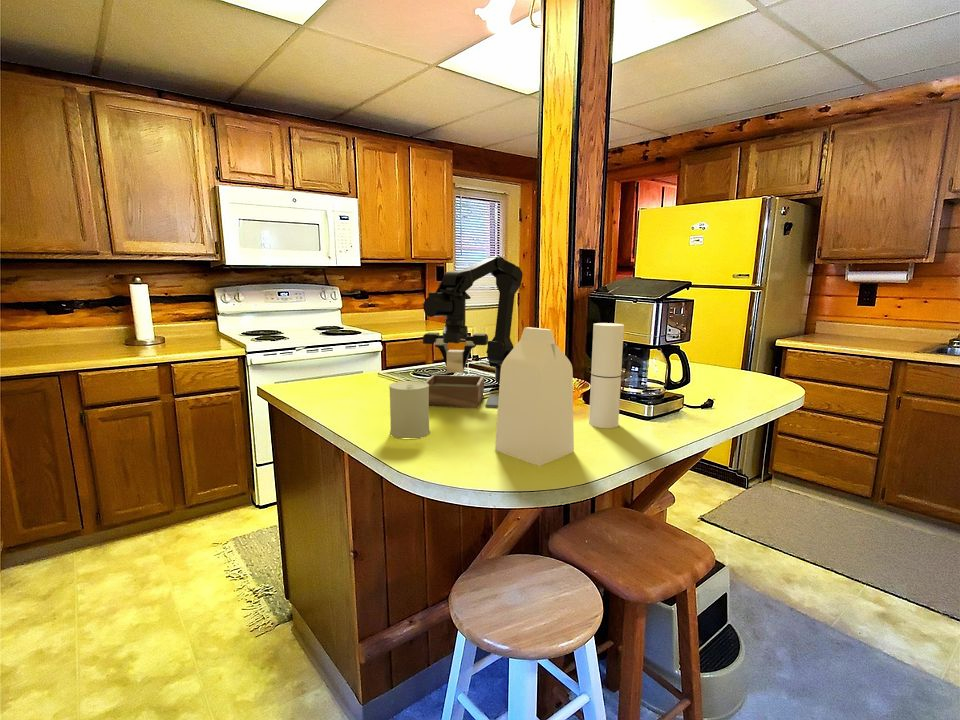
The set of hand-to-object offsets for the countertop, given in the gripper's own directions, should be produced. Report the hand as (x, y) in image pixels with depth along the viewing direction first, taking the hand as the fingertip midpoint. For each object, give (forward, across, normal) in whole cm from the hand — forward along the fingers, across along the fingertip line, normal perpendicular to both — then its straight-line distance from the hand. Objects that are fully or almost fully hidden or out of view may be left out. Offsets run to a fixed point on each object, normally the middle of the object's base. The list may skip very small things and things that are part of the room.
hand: (455, 367), depth 148 cm
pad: (+9, +14, -3) cm, 17 cm away
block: (+1, 0, 0) cm, 1 cm away
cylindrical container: (+10, +41, -21) cm, 47 cm away
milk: (+10, +24, -43) cm, 50 cm away
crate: (+9, 0, -3) cm, 10 cm away
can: (+10, -5, -35) cm, 37 cm away
